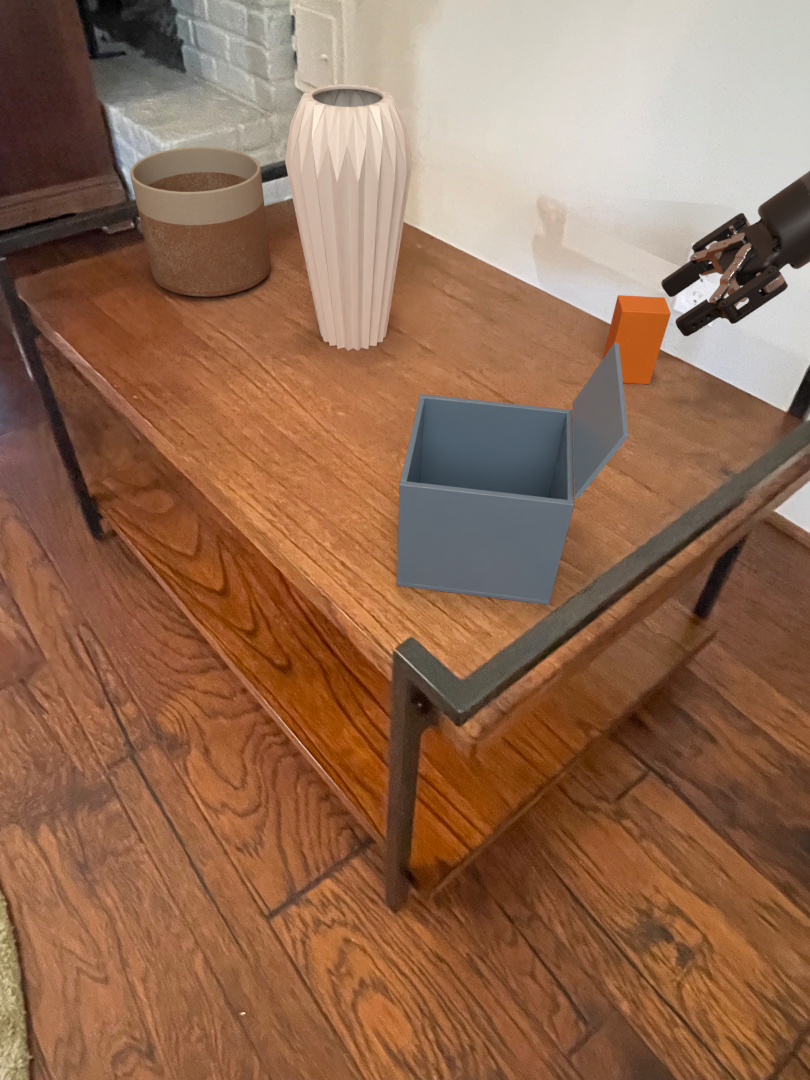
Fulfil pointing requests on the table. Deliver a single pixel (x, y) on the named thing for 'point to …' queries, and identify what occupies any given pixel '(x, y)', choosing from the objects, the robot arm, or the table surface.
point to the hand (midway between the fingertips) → (672, 309)
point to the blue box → (485, 498)
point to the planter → (203, 219)
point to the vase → (350, 205)
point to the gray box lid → (598, 420)
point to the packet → (638, 335)
